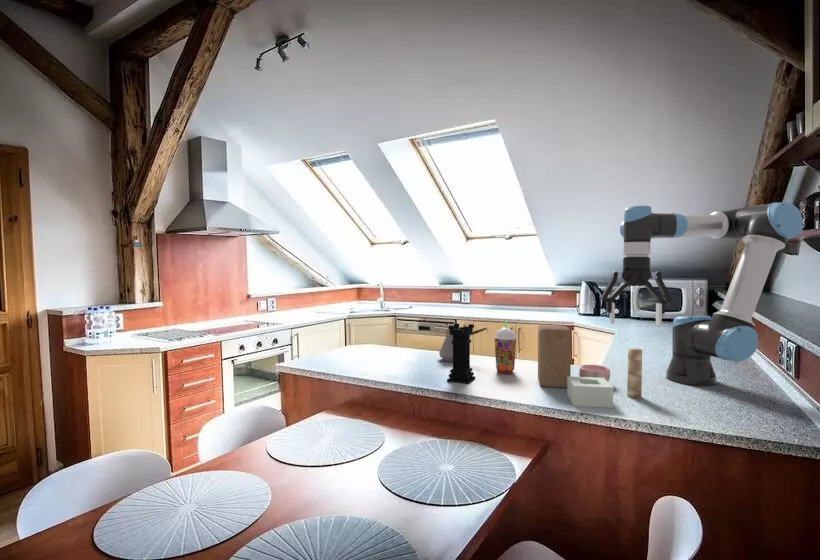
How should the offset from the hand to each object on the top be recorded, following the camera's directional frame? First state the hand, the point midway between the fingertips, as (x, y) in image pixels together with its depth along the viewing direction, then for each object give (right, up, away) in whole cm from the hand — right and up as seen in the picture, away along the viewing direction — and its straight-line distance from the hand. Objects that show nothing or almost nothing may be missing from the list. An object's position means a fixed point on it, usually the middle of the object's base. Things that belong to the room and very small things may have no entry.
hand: (635, 324), depth 140 cm
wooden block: (-20, -23, +16) cm, 34 cm away
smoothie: (-34, -22, +32) cm, 52 cm away
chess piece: (-52, -23, +21) cm, 61 cm away
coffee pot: (-48, -21, +52) cm, 74 cm away
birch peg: (0, -23, +1) cm, 23 cm away
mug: (-6, -23, +16) cm, 29 cm away
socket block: (-16, -23, -3) cm, 28 cm away
